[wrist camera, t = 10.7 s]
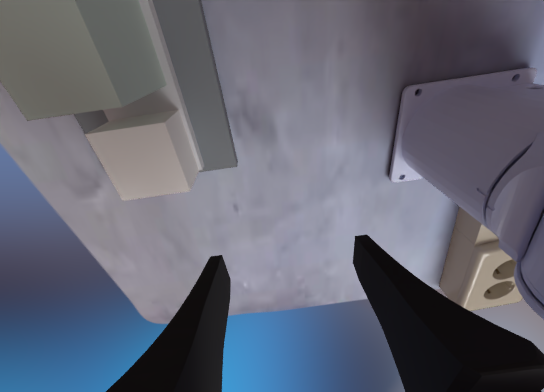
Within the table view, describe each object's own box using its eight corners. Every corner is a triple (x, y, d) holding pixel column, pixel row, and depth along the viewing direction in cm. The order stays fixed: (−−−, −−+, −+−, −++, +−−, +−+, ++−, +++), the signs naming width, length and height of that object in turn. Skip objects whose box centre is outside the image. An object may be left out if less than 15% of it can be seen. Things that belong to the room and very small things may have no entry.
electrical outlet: (603, 167, 18) (522, 303, 28) (547, 147, 22) (492, 274, 31) (505, 188, 19) (459, 314, 28) (466, 166, 22) (437, 285, 32)
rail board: (149, -226, 10) (79, -406, 6) (237, 161, 20) (233, 191, 16) (-80, -186, 10) (-296, -336, 6) (120, 178, 20) (86, 213, 16)
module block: (131, -22, 12) (44, -68, 7) (167, 85, 15) (122, 106, 10) (54, -10, 12) (-87, -47, 7) (103, 94, 15) (27, 120, 10)
